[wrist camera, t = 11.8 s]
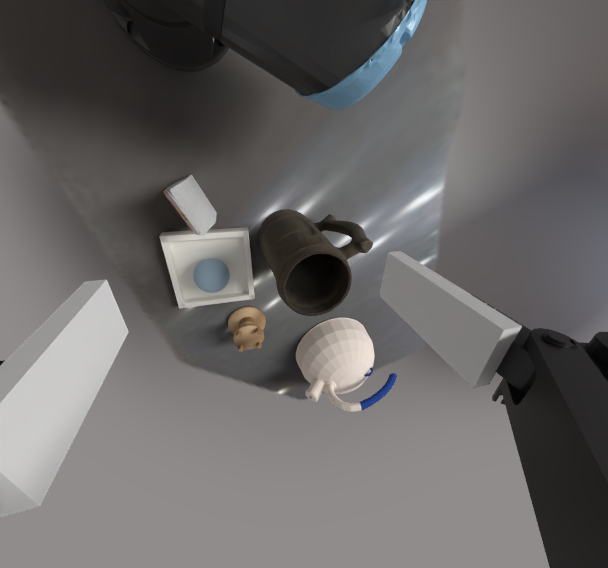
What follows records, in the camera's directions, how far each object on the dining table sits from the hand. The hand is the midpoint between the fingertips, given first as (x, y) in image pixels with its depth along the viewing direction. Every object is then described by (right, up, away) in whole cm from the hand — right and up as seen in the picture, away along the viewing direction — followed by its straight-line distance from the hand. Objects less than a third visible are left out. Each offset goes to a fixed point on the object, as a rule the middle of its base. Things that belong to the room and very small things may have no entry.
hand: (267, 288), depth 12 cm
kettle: (+9, -17, +54) cm, 58 cm away
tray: (-15, +4, +34) cm, 38 cm away
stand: (-11, -8, +43) cm, 45 cm away
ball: (-15, +3, +34) cm, 37 cm away
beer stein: (0, +11, +36) cm, 37 cm away
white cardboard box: (-16, +14, +29) cm, 36 cm away
